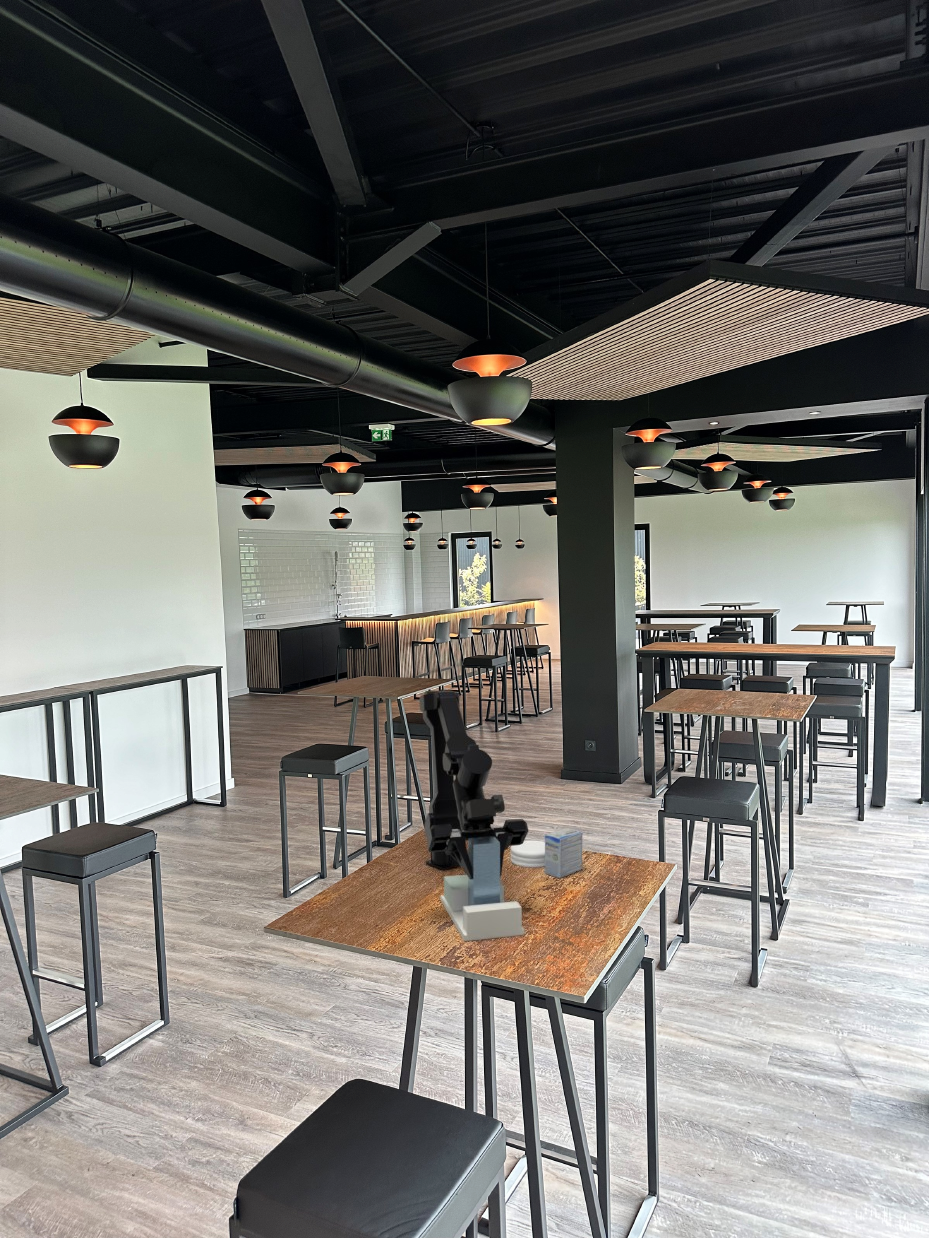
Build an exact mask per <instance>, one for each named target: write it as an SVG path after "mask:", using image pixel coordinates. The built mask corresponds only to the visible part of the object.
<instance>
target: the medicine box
mask: <svg viewBox="0 0 929 1238" xmlns="http://www.w3.org/2000/svg"><path fill="white" fill-rule="evenodd" d="M544 842H545V867H544V874H545V875H548V876H551V877H554V878H557V879H562V878H564V877H566V876H569V875H572V874H575V873H576V871H577V872H579V871H581V869H582V870H583V832H582V831H580V830H577V829H574V828H571V827H570V828H569V827H566V828H562V829H559V830H557V831H553V832H550V833H547V834H544Z"/></svg>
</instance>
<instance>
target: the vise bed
mask: <svg viewBox="0 0 929 1238" xmlns="http://www.w3.org/2000/svg"><path fill="white" fill-rule="evenodd" d="M440 902H441V903H442V905H443V906H444V909H445V910H446V912H447V914H448V915H449V917H450V919H451V921H452V922H453V924H454V926H455V927H456V929H457V931H458V933H459V934H460V936H461V938H462V940H463V942H468V941H470V942H471V941H480V940H488V939H497V938H508V937H516V936H524V935H525V928H524V927H523V926H522V924H523V922H522V918H523V917H522V913H523V912H522V909H523V908H522V906H521V904H520V903H519V902H518V901H517V900H515V901H504V902H503V903H493V904H483V905H472V906H463V911H454V912H453V911H452V909H451V907H450V905H449V904H448V902H447V900H446V899H445V897H444V894H441V895H440Z"/></svg>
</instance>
